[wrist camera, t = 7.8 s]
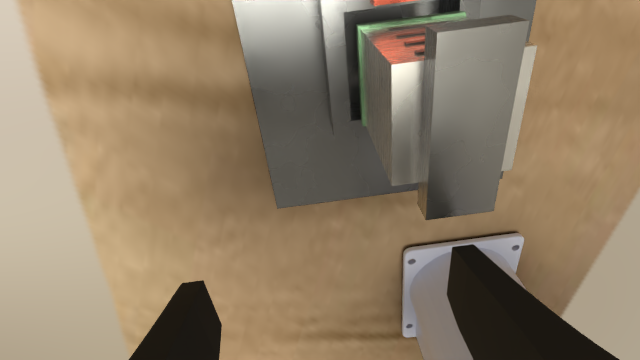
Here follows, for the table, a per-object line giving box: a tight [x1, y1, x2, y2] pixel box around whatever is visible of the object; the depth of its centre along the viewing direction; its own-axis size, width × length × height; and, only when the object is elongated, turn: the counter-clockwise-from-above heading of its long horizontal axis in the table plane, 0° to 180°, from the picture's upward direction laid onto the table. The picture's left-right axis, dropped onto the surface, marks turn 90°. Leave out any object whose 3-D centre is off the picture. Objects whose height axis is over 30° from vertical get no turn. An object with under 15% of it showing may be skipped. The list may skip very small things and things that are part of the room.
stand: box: [232, 0, 536, 209], centre depth 16 cm, size 16×13×4 cm
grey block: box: [356, 10, 537, 220], centre depth 12 cm, size 5×4×6 cm
